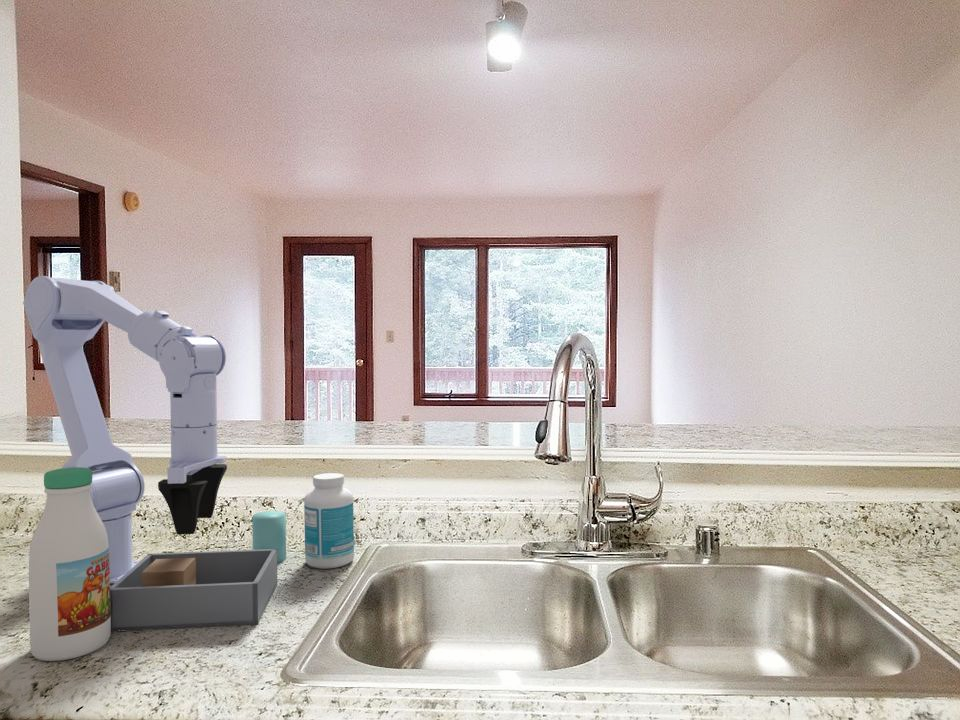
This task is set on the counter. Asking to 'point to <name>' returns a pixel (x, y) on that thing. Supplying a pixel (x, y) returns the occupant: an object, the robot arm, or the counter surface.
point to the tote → (197, 592)
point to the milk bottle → (69, 571)
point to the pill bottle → (329, 523)
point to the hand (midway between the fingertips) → (195, 525)
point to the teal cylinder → (270, 532)
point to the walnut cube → (170, 572)
